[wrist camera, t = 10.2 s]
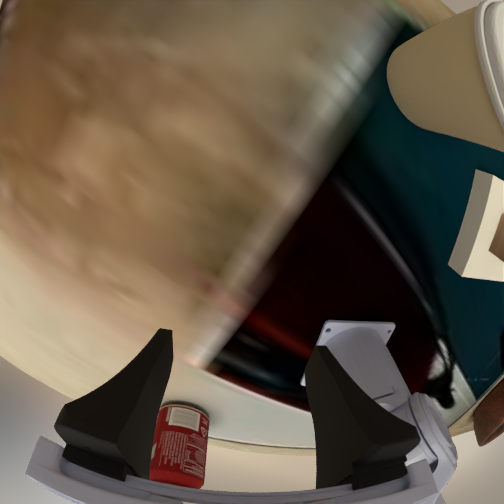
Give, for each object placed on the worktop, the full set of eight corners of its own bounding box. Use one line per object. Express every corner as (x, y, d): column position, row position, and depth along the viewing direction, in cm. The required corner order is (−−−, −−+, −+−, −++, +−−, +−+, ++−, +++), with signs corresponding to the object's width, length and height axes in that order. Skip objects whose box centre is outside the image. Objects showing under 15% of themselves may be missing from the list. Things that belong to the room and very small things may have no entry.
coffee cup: (473, 124, 16) (576, 148, 5) (404, 155, 18) (525, 195, 7) (435, 30, 13) (533, 5, 2) (355, 45, 14) (457, -13, 3)
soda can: (168, 394, 29) (150, 479, 18) (218, 411, 30) (212, 494, 20) (154, 414, 31) (138, 486, 20) (198, 429, 33) (190, 500, 22)
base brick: (492, 270, 23) (506, 281, 21) (445, 262, 23) (461, 276, 20) (516, 193, 19) (533, 201, 16) (472, 168, 18) (493, 175, 16)
